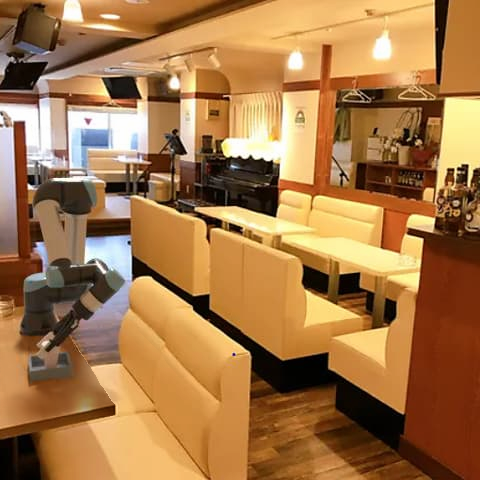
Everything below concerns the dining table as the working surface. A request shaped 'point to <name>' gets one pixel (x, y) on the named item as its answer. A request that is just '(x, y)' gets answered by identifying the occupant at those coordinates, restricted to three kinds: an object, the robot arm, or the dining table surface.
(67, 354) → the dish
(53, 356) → the smoothie
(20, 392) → the dining table surface
